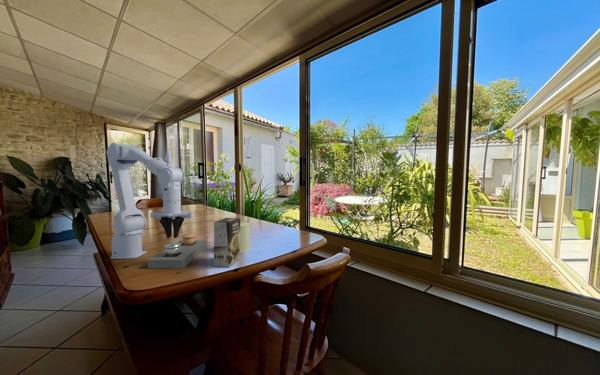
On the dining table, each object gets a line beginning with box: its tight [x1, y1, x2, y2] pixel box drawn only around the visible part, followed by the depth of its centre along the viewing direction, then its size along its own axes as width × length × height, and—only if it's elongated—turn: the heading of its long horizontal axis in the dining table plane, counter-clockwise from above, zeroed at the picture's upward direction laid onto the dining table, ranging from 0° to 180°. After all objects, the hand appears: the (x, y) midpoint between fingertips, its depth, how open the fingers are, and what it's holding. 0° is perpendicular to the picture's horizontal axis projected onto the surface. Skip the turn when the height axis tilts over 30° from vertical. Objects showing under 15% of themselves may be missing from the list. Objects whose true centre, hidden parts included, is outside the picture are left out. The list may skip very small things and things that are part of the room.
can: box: [240, 221, 251, 254], centre depth 105 cm, size 9×9×12 cm
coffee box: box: [213, 217, 241, 268], centre depth 90 cm, size 9×6×16 cm
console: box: [147, 239, 208, 269], centre depth 97 cm, size 12×25×3 cm, turn 2°
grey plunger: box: [164, 242, 181, 257], centre depth 89 cm, size 5×5×4 cm
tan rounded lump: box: [181, 233, 196, 246], centre depth 103 cm, size 5×5×4 cm
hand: (172, 237), depth 89 cm, fingers closed
